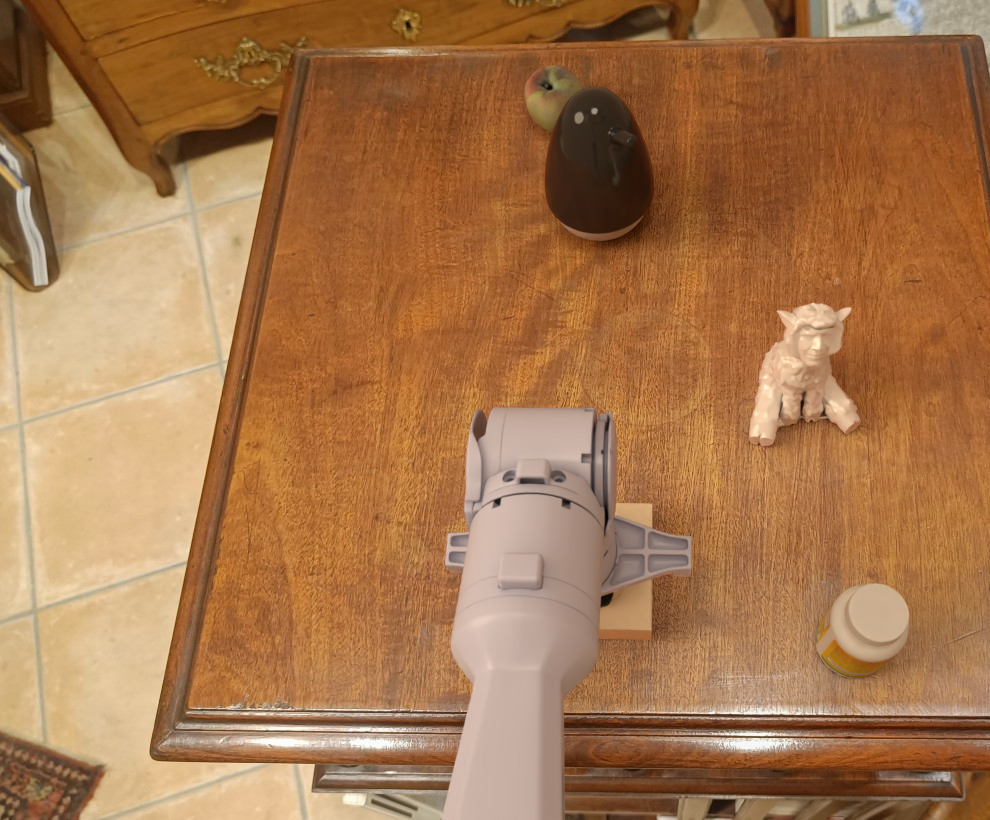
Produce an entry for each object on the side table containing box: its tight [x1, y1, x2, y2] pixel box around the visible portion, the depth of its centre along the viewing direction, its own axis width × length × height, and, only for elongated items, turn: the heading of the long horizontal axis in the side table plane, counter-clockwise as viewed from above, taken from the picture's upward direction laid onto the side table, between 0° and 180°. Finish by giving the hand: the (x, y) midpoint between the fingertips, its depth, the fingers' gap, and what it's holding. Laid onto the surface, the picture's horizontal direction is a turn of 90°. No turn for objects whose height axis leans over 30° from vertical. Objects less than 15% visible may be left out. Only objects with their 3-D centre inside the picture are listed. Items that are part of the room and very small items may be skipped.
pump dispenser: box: [544, 86, 655, 242], centre depth 83 cm, size 10×10×15 cm
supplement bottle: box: [815, 582, 910, 679], centre depth 65 cm, size 5×5×10 cm
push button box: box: [599, 502, 654, 641], centre depth 71 cm, size 10×10×5 cm
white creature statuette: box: [748, 302, 862, 447], centre depth 74 cm, size 10×9×12 cm
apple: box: [523, 64, 585, 134], centre depth 93 cm, size 6×8×6 cm
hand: (578, 587), depth 63 cm, fingers closed
